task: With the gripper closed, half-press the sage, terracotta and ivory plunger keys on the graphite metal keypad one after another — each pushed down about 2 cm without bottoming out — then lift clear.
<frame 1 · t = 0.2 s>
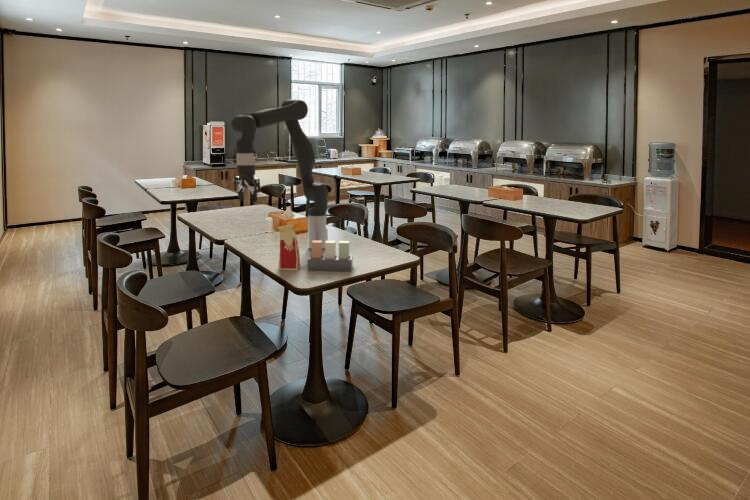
hand: (247, 201, 221), 29 cm above the table, fingers open, 8 cm apart
ivory key: (330, 249, 224), point 8 cm above the table, slide at 0.0 cm
terracotta key: (316, 249, 224), point 8 cm above the table, slide at 0.0 cm
sage key: (344, 250, 224), point 8 cm above the table, slide at 0.0 cm
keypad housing: (330, 268, 226), on the table
milk carton: (288, 268, 226), on the table
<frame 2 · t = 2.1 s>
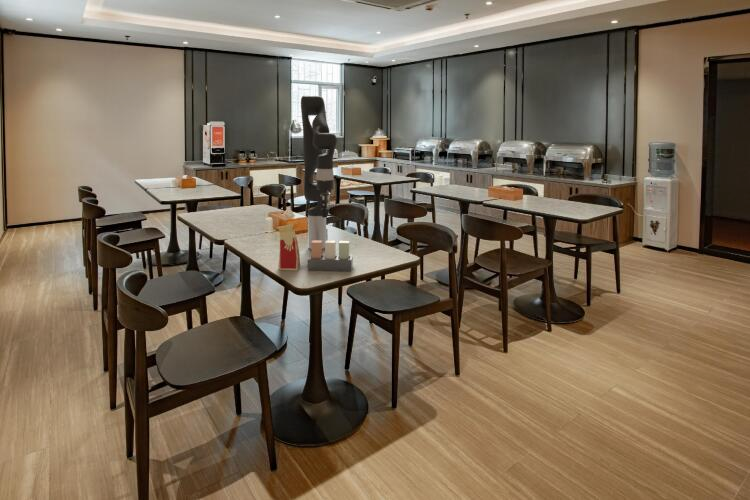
hand: (325, 216, 231), 21 cm above the table, fingers open, 5 cm apart
nothing on the table moved.
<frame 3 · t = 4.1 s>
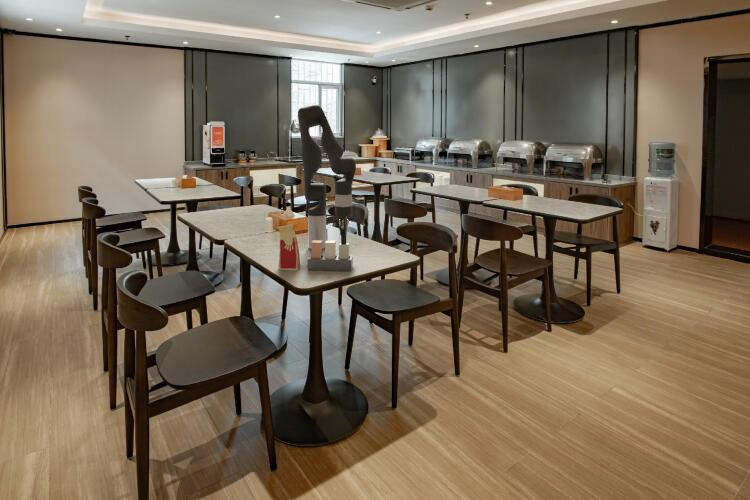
hand: (343, 243, 223), 11 cm above the table, fingers closed
sage key: (344, 252, 224), point 7 cm above the table, slide at 0.9 cm, touching gripper
everything else where it was.
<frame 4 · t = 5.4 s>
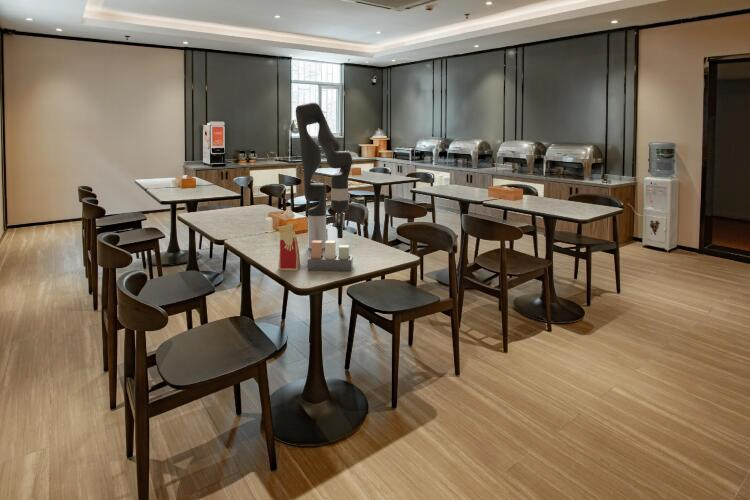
hand: (340, 237, 223), 14 cm above the table, fingers closed
sage key: (344, 254, 224), point 6 cm above the table, slide at 1.9 cm
everything else where it was.
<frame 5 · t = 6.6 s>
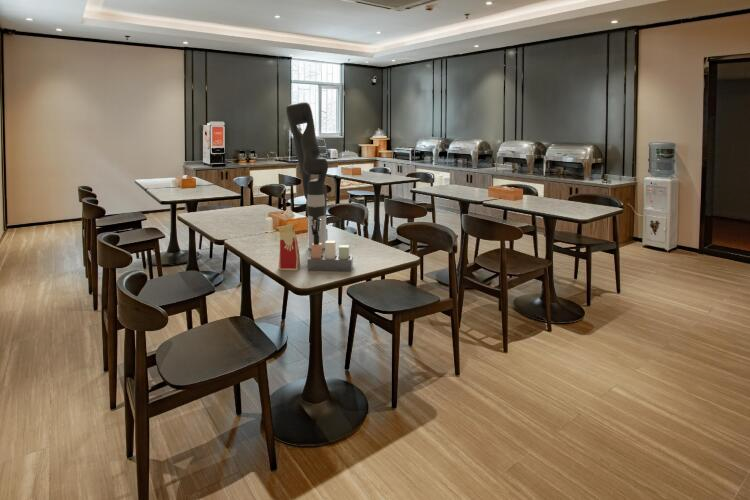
hand: (316, 243, 223), 11 cm above the table, fingers closed
terracotta key: (316, 252, 224), point 7 cm above the table, slide at 1.1 cm, touching gripper
everything else where it was.
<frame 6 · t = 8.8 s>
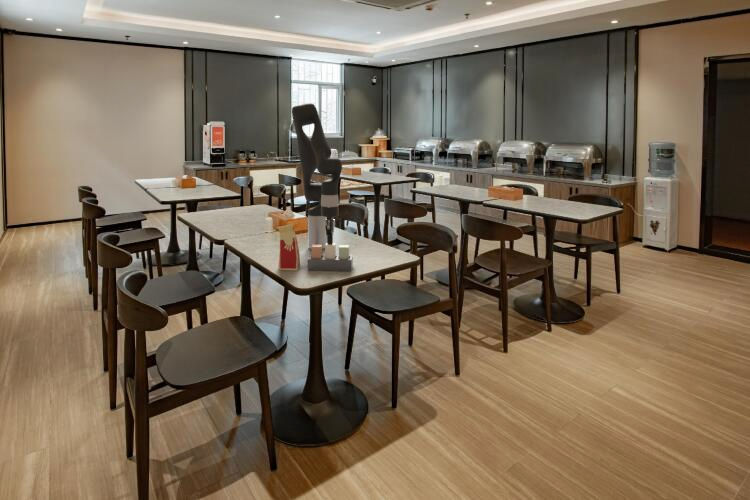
hand: (330, 244, 223), 11 cm above the table, fingers closed
ivory key: (330, 252, 224), point 7 cm above the table, slide at 1.1 cm, touching gripper
terracotta key: (316, 253, 224), point 6 cm above the table, slide at 1.9 cm
everything else where it was.
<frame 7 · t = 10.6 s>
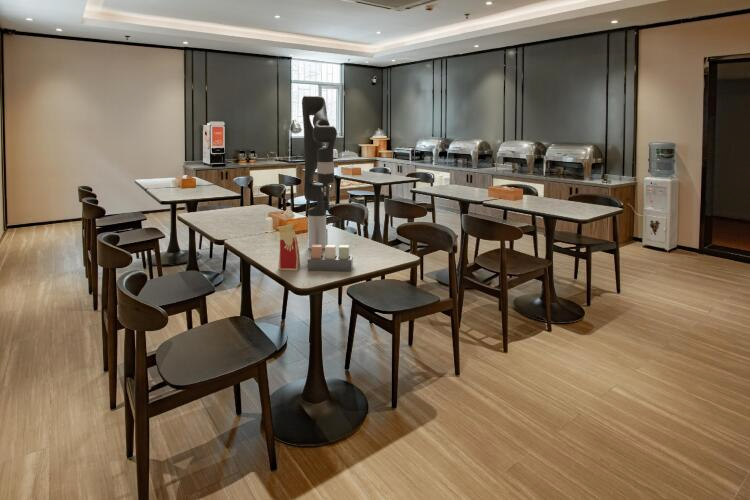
hand: (326, 210, 232), 24 cm above the table, fingers closed
ivory key: (330, 254, 224), point 6 cm above the table, slide at 1.9 cm
everything else where it was.
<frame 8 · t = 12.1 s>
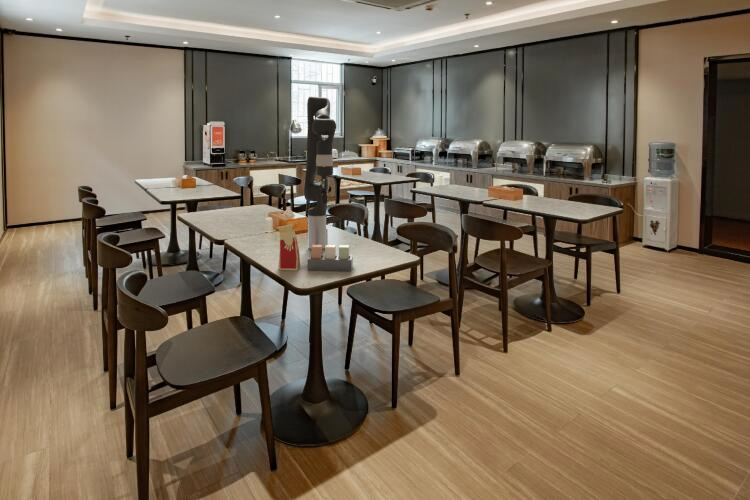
hand: (325, 203, 233), 27 cm above the table, fingers closed
nothing on the table moved.
at the end: sage key slide at 1.9 cm; terracotta key slide at 1.9 cm; ivory key slide at 1.9 cm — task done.
